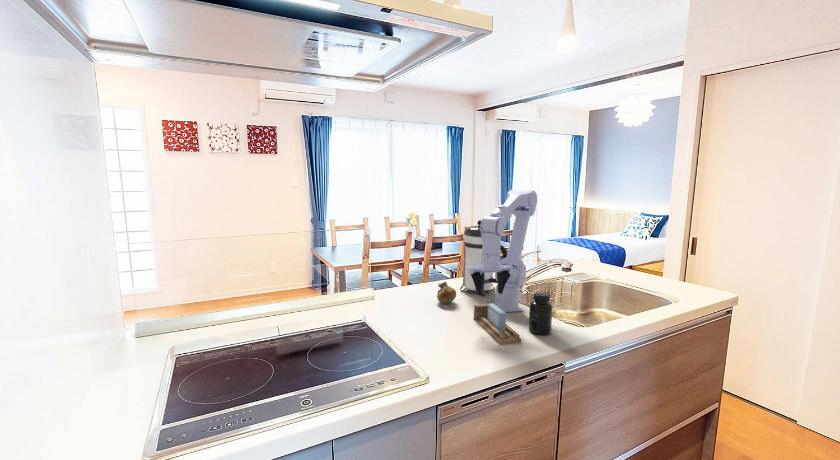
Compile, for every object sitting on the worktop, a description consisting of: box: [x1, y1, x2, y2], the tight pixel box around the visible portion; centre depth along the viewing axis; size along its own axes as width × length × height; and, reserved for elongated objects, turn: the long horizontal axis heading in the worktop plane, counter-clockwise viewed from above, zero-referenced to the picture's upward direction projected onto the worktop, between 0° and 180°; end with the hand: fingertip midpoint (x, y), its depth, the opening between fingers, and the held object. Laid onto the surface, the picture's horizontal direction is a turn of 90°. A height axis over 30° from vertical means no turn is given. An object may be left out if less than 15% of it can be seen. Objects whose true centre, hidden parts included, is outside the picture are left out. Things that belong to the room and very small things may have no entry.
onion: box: [436, 281, 457, 305], centre depth 146 cm, size 8×8×8 cm
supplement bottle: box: [528, 292, 553, 336], centre depth 120 cm, size 7×7×12 cm
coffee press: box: [459, 219, 508, 297], centre depth 160 cm, size 17×16×30 cm
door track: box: [473, 302, 522, 345], centre depth 122 cm, size 20×7×5 cm, turn 14°
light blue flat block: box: [487, 303, 507, 332], centre depth 122 cm, size 9×2×6 cm, turn 14°
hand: (489, 293), depth 126 cm, fingers open, 7 cm apart
